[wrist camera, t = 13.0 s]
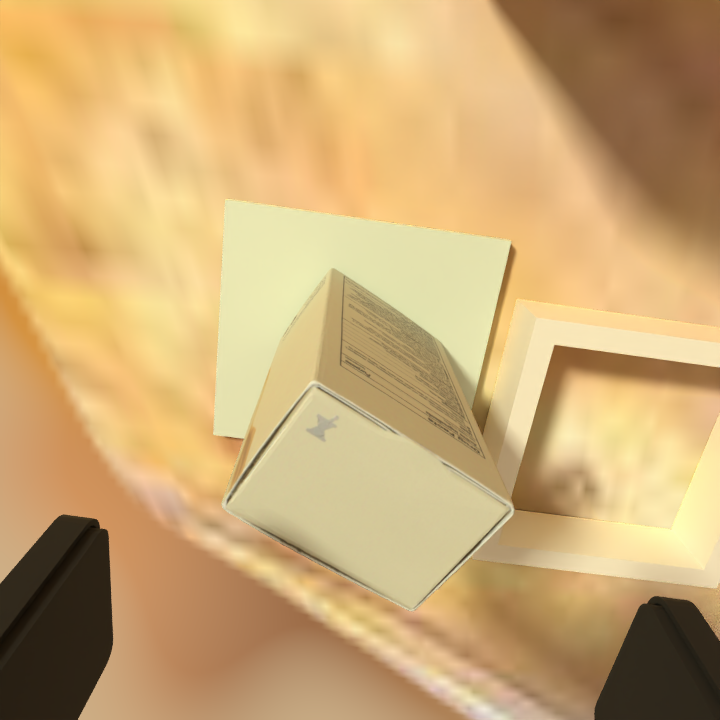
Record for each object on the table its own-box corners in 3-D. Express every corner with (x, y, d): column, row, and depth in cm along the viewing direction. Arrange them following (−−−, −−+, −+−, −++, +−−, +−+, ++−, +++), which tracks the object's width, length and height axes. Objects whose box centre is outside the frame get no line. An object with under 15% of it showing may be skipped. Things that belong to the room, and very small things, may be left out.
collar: (774, 334, 25) (826, 358, 22) (682, 546, 29) (716, 588, 26) (516, 298, 24) (536, 317, 22) (461, 519, 29) (472, 559, 26)
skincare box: (277, 340, 25) (201, 504, 13) (332, 262, 23) (300, 369, 12) (392, 415, 26) (413, 625, 14) (450, 345, 25) (523, 514, 13)
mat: (507, 239, 23) (511, 241, 23) (456, 459, 27) (458, 465, 27) (228, 198, 23) (225, 199, 22) (216, 428, 27) (213, 434, 26)
